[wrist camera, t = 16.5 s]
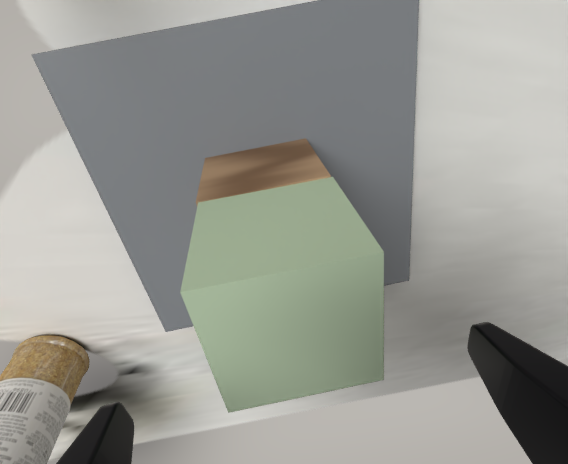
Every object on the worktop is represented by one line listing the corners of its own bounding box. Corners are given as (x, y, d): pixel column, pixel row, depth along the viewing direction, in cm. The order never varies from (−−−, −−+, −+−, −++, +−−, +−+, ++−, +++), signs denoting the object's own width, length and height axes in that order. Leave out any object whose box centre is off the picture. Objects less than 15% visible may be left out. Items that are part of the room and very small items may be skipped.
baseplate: (409, -17, 15) (419, -19, 14) (402, 271, 23) (409, 280, 23) (42, 53, 15) (31, 54, 14) (168, 320, 23) (166, 331, 22)
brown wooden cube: (305, 138, 17) (330, 175, 13) (316, 225, 20) (340, 280, 15) (205, 157, 17) (195, 202, 13) (229, 243, 19) (228, 303, 15)
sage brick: (333, 176, 13) (383, 251, 8) (341, 281, 15) (383, 380, 11) (198, 202, 13) (180, 292, 8) (229, 304, 15) (228, 412, 11)
